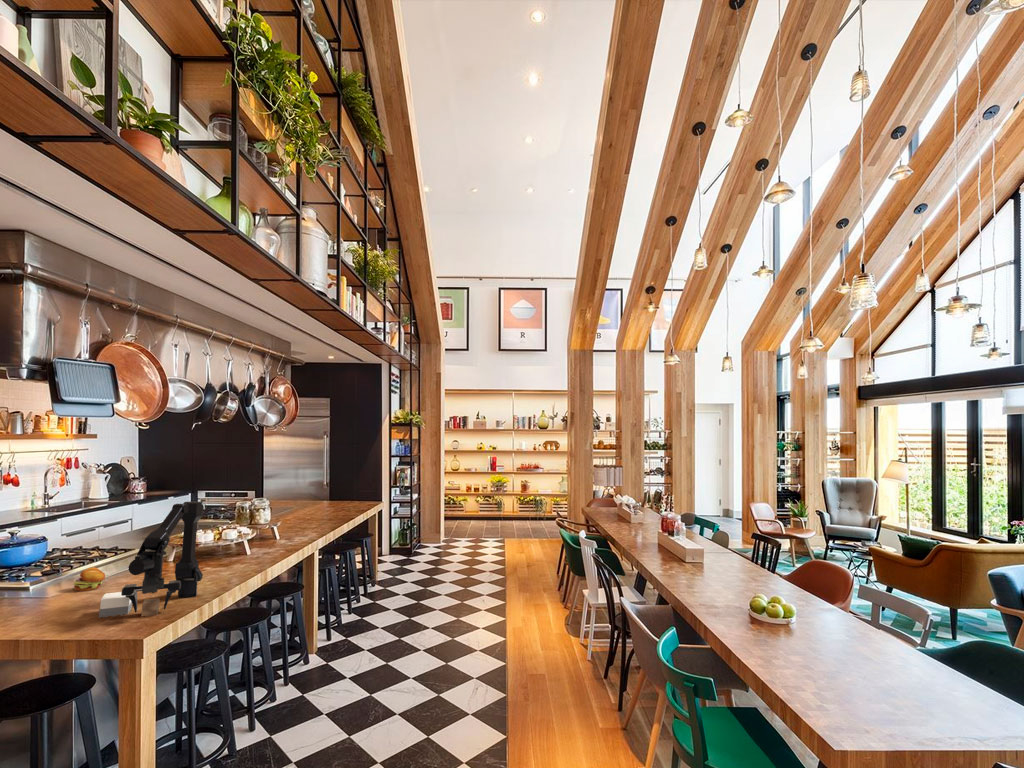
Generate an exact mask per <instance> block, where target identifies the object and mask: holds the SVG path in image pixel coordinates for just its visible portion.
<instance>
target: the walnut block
mask: <svg viewBox="0 0 1024 768" xmlns="http://www.w3.org/2000/svg"><path fill="white" fill-rule="evenodd" d="M159 611H160V598H159V597H158V598H151V599H150V598H149V599H144V600H143V601H142V604H141V618H143V617H142V616H145V617H153V615H154V616H157V615H158V614H159Z"/></svg>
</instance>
